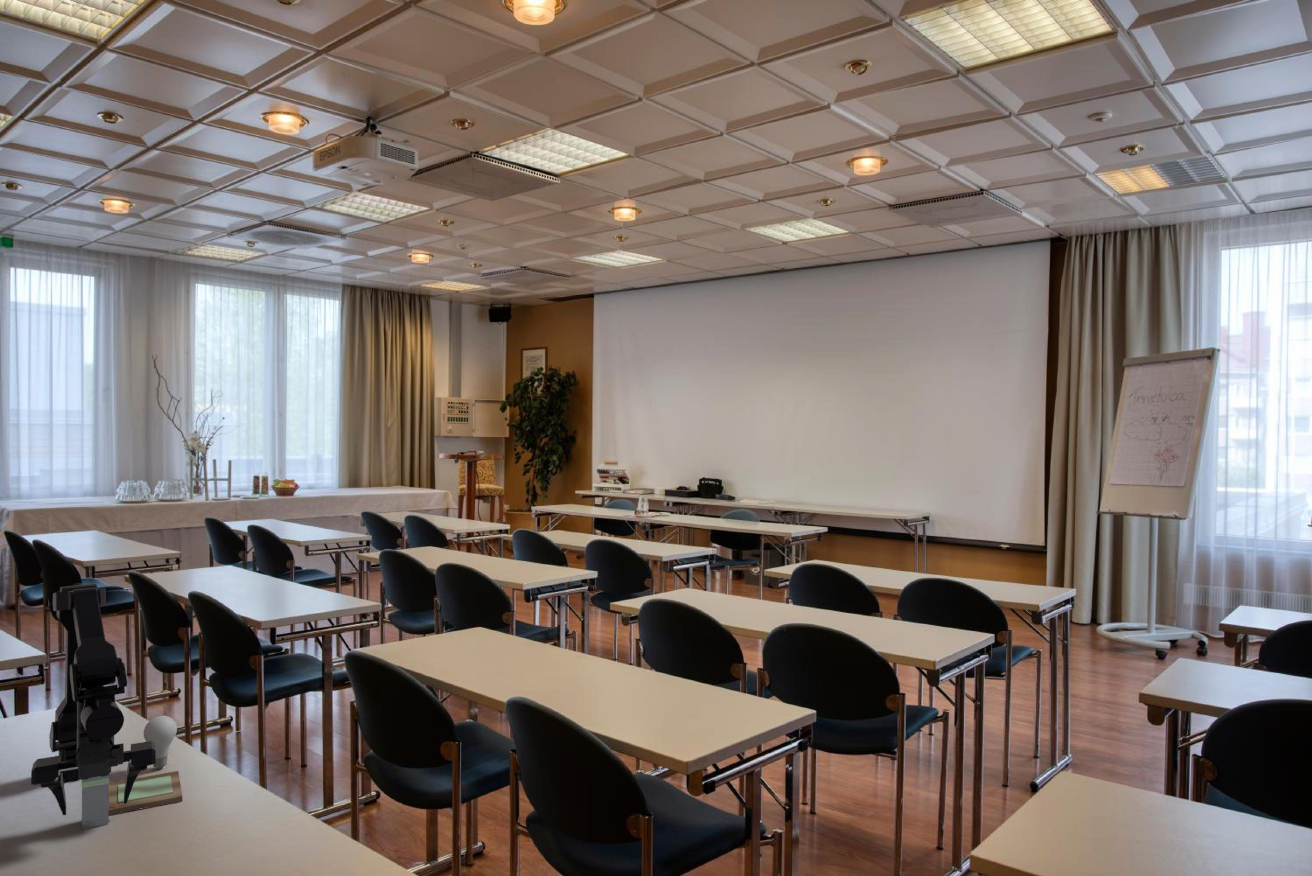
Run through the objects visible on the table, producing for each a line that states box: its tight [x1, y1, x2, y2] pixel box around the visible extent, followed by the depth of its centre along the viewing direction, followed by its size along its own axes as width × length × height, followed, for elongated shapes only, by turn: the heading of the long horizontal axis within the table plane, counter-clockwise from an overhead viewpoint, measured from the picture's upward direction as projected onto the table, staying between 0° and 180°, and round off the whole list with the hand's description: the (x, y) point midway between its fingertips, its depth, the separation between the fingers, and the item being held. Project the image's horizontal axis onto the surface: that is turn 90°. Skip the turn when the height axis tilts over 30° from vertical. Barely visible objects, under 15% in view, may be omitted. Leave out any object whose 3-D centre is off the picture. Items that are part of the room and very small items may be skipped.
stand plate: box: [109, 770, 183, 816], centre depth 168 cm, size 14×12×1 cm
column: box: [81, 774, 110, 830], centre depth 156 cm, size 4×4×9 cm
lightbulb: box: [143, 715, 178, 770], centre depth 180 cm, size 6×6×11 cm
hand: (95, 808), depth 156 cm, fingers open, 9 cm apart
